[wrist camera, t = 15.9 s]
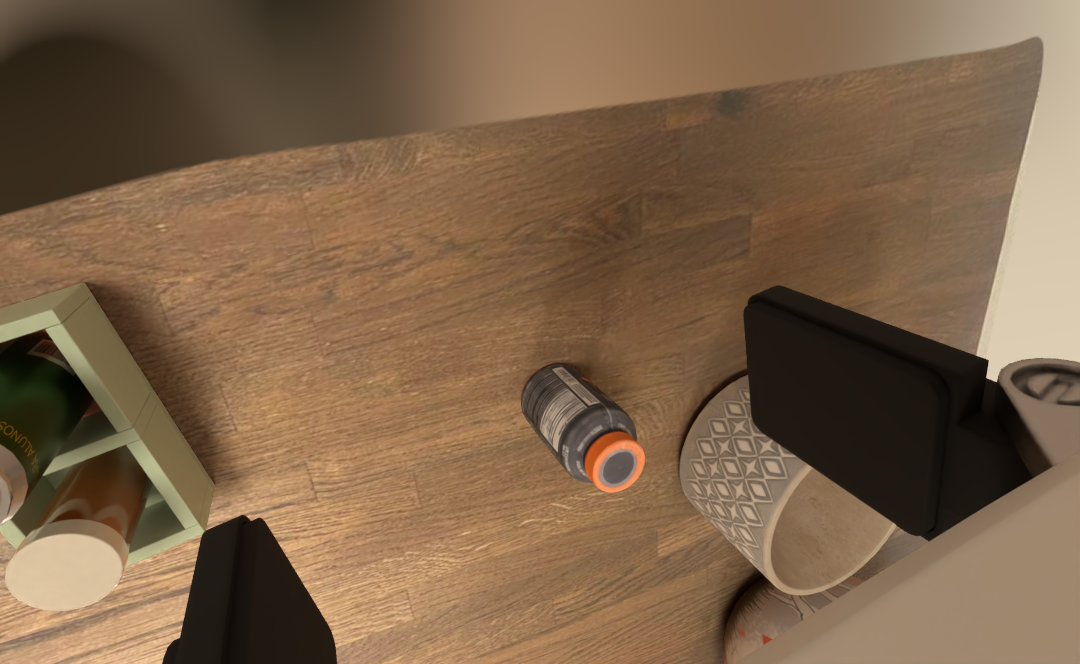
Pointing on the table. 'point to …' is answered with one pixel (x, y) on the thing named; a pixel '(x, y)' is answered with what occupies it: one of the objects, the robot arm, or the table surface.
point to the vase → (772, 615)
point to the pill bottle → (583, 428)
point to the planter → (774, 500)
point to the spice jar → (81, 534)
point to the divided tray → (112, 423)
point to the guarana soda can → (34, 414)
